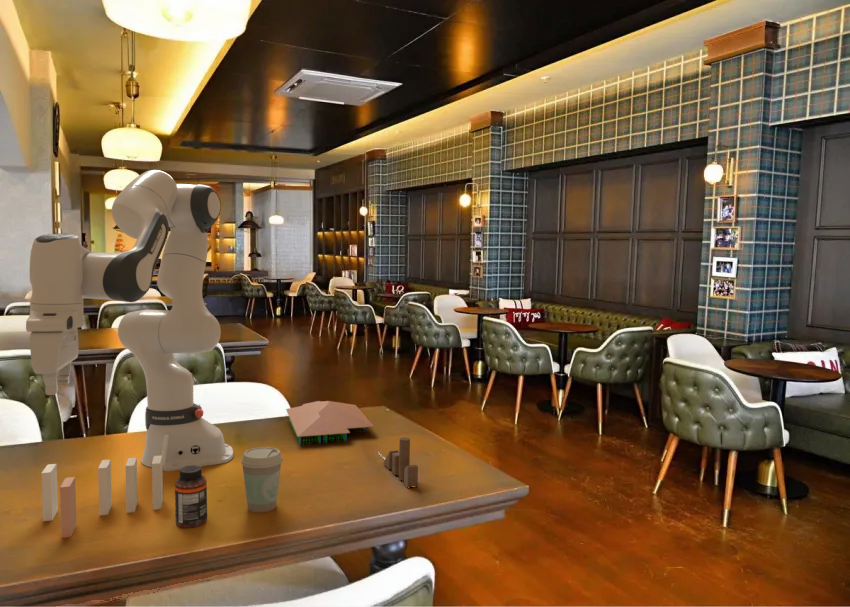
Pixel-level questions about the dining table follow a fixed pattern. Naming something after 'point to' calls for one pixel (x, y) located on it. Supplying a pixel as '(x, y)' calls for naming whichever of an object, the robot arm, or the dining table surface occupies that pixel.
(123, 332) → the robot arm
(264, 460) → the coffee cup
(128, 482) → the domino
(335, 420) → the house
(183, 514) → the supplement bottle
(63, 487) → the domino
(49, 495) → the domino end
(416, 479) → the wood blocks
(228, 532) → the dining table surface
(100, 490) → the domino
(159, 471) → the domino
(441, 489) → the dining table surface
